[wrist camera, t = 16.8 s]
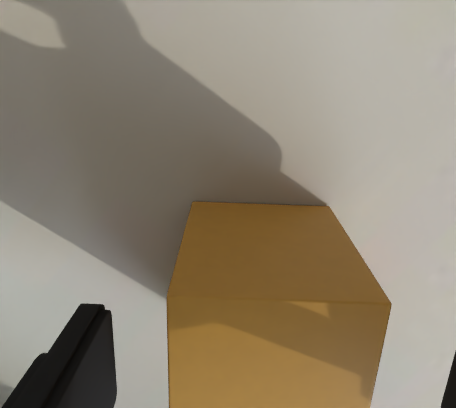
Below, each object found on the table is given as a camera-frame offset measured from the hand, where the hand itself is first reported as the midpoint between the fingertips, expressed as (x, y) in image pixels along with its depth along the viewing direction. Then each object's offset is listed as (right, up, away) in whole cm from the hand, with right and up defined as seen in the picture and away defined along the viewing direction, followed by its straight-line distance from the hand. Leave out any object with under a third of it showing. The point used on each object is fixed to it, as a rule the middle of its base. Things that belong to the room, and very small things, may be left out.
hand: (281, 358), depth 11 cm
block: (0, +2, +3) cm, 4 cm away
